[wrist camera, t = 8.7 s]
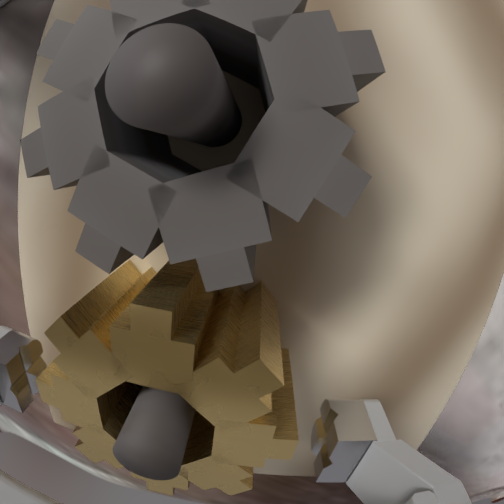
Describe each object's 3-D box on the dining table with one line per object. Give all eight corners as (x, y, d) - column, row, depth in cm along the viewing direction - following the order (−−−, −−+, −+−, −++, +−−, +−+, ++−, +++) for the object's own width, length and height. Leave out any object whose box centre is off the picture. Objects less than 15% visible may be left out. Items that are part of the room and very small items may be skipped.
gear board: (66, 405, 13) (10, 488, 7) (109, -72, 7) (47, -144, 1) (394, 451, 14) (425, 543, 7) (497, -4, 7) (581, -45, 1)
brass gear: (106, 392, 11) (65, 460, 7) (96, 232, 9) (14, 274, 5) (268, 424, 11) (268, 508, 7) (307, 265, 9) (335, 335, 5)
